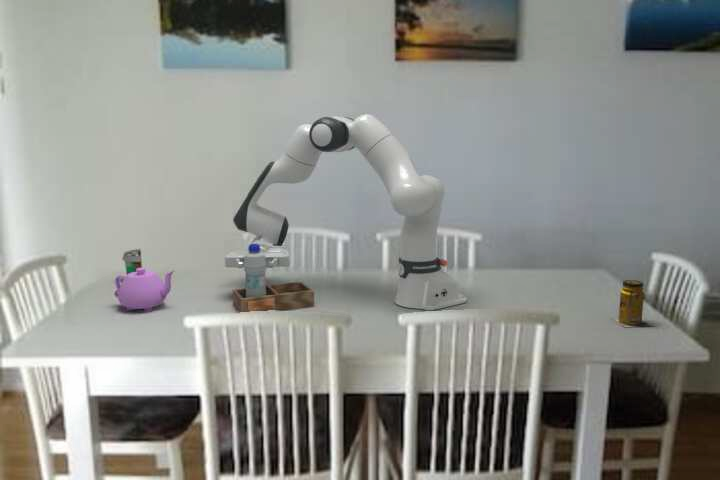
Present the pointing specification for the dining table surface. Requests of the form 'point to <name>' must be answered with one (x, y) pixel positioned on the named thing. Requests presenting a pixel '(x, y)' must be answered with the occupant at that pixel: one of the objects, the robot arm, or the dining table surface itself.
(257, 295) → the bottle
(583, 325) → the dining table surface
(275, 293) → the crate
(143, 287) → the teapot
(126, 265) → the food container
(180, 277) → the dining table surface
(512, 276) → the dining table surface
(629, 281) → the condiment
